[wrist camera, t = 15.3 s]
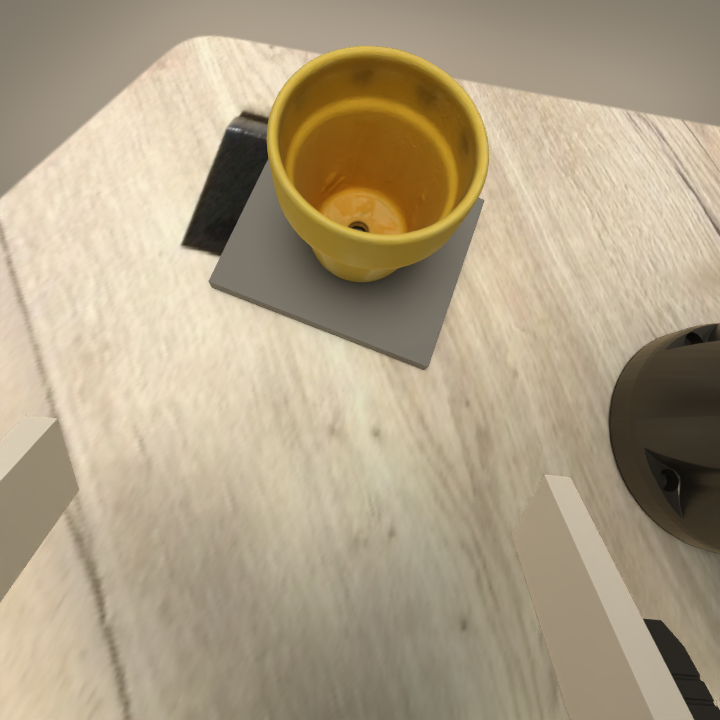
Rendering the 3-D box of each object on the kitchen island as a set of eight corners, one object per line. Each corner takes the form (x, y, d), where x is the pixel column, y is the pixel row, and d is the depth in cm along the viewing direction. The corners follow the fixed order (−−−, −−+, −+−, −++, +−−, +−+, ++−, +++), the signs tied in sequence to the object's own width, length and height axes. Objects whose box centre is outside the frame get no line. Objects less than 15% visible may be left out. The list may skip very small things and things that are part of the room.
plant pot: (302, 328, 28) (297, 263, 18) (264, 184, 29) (242, 56, 20) (452, 293, 29) (521, 217, 20) (408, 159, 31) (453, 29, 21)
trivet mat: (479, 207, 32) (484, 200, 31) (424, 369, 29) (428, 366, 28) (287, 130, 31) (287, 120, 30) (211, 287, 28) (208, 281, 28)
